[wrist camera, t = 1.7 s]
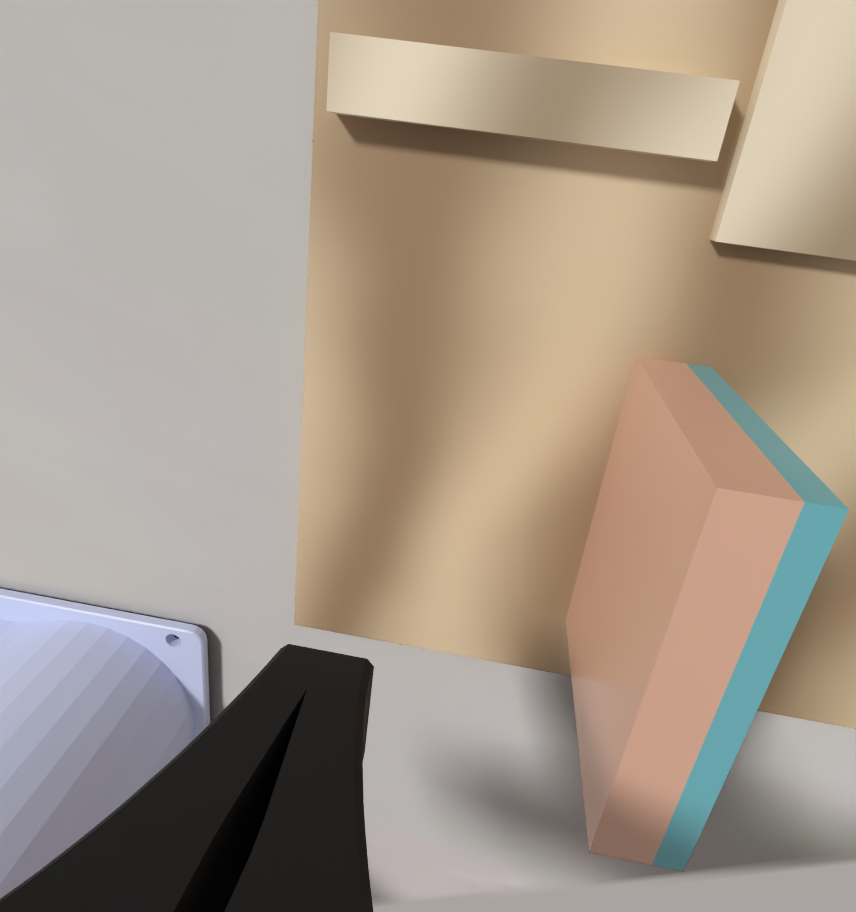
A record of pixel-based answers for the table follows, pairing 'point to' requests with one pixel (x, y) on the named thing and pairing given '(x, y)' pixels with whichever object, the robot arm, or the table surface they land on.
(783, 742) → the table surface
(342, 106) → the wooden turner
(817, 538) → the tile
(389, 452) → the cork mat
